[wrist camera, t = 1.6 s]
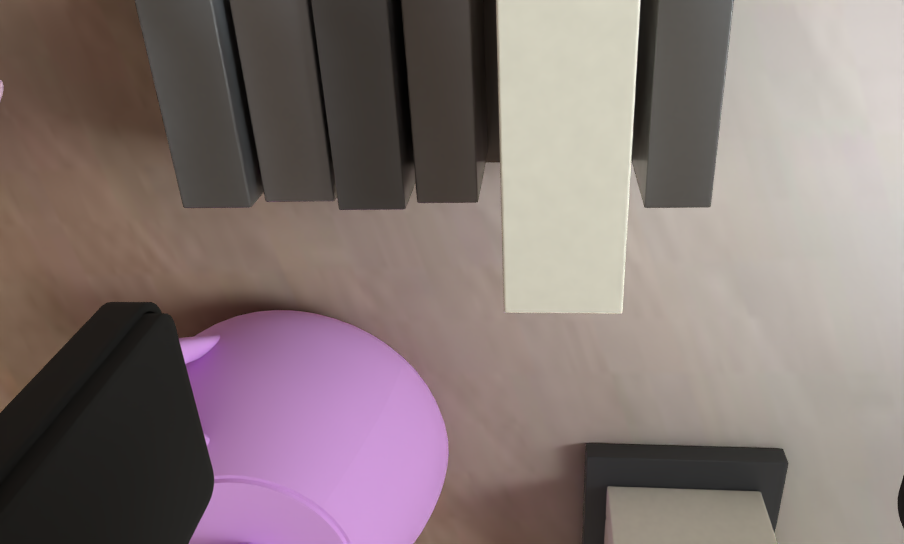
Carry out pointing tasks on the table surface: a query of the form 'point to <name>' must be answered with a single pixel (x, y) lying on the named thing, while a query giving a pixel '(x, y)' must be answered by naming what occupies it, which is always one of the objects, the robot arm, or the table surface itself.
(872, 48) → the table surface
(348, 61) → the grey book rack
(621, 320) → the table surface
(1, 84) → the rabbit figure
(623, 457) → the cubes on dark base
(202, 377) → the teapot
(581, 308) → the white book
